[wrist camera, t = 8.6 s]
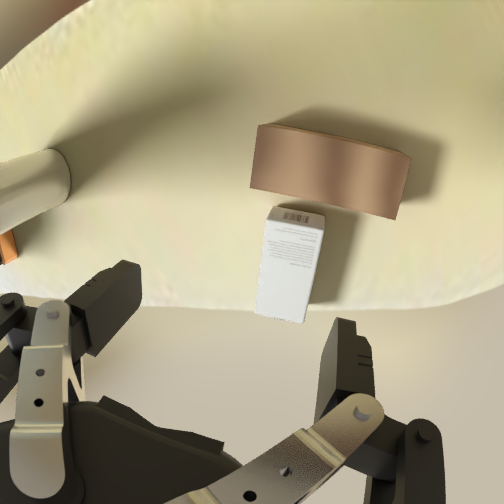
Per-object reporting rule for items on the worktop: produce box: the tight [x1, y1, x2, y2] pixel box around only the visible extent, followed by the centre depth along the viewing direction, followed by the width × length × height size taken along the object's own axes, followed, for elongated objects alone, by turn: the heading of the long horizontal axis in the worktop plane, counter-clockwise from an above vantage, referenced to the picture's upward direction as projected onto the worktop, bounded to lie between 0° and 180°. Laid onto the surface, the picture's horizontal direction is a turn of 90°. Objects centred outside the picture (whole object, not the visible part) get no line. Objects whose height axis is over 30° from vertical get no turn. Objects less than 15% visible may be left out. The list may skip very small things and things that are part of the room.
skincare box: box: [255, 206, 325, 324], centre depth 35 cm, size 6×4×12 cm
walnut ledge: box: [250, 124, 411, 220], centre depth 29 cm, size 14×6×5 cm, turn 82°
